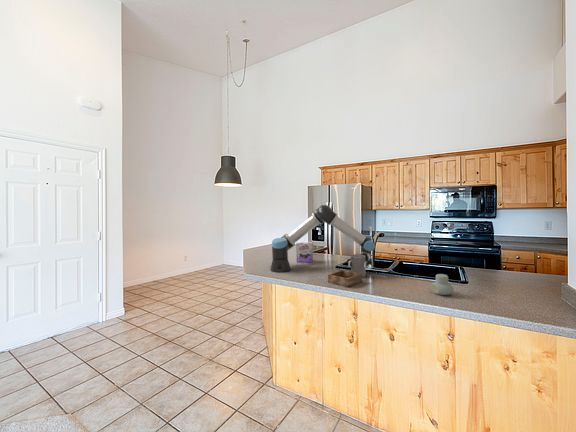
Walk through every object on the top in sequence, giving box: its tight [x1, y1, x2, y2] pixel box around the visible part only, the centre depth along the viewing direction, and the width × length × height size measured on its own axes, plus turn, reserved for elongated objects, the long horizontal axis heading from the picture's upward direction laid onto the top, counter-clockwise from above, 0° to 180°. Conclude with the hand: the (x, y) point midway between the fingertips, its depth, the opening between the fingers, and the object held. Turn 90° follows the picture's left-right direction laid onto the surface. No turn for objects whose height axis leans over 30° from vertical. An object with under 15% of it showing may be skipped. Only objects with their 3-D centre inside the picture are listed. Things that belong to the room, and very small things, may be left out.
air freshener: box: [430, 273, 455, 296], centre depth 146 cm, size 11×8×10 cm
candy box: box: [295, 241, 314, 263], centre depth 231 cm, size 14×6×16 cm, turn 80°
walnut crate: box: [327, 269, 363, 288], centre depth 171 cm, size 15×15×5 cm
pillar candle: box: [350, 253, 367, 278], centre depth 185 cm, size 10×10×15 cm
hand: (356, 264), depth 181 cm, fingers closed on pillar candle, 9 cm apart
